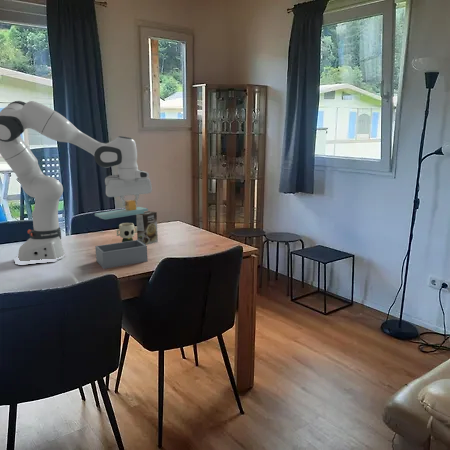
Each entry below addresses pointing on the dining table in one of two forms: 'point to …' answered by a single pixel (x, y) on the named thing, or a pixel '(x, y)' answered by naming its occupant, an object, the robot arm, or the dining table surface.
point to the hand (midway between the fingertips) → (130, 205)
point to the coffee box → (147, 227)
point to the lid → (123, 211)
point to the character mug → (126, 231)
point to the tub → (121, 254)
